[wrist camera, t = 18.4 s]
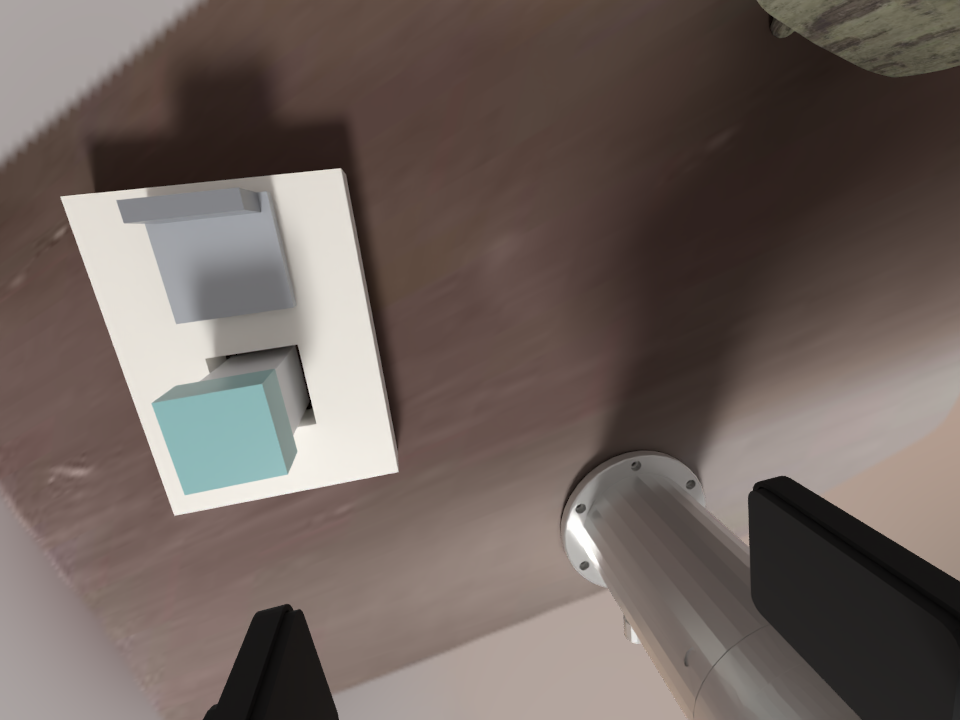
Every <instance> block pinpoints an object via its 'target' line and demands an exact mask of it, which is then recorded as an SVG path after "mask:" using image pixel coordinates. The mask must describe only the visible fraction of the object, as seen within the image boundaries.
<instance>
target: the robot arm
mask: <svg viewBox="0 0 960 720" xmlns="http://www.w3.org/2000/svg"><path fill="white" fill-rule="evenodd" d="M748 509H749V545H750V547H748V546H747V545H746V544H745V543H744V542H743V541H742V540H741V539H739V538H738V537H737V536H736V535H735V534H734V533H733V532H732V531H730V530H729V529H728V528H727V527H726V526H725V525H724V524H723V523H721V522H720V521H719V520H718V519H717V518H716V517H715V516H714V515H712V514H711V513H710V512H709V511H708V510H707V509H706V500H705V494H704V491H703V488H702V485H701V483H700V482H699V480H698V478H697V476H696V475H695V474H694V473H693V472H692V471H691V470H690V469H689V468H688V467H687V466H686V465H684V464H683V463H682V462H680V461H679V460H678V459H676V458H674V457H672V456H670V455H668V454H665V453H661V452H656V451H635V452H629V453H625V454H622V455H619V456H616V457H613V458H611V459H609V460H608V461H606V462H604V463H602V464H600V465H599V466H598V467H596V468H595V469H594V470H592V471H591V472H590V473H588V474H587V475H586V476H585V478H584V479H583V480H582V481H581V482H580V483H579V484H578V485H577V487H576V488H575V490H574V491H573V493H572V494H571V496H570V497H569V500H568V502H567V504H566V506H565V509H564V512H563V516H562V521H561V539H562V544H563V548H564V550H565V553H566V555H567V557H568V559H569V560H570V562H571V564H572V565H573V567H574V569H575V570H576V571H577V572H578V573H579V574H580V575H581V576H582V577H584V578H585V579H587V580H588V581H590V582H592V583H594V584H597V585H599V586H602V587H607V588H608V589H609V591H610V592H611V594H612V596H613V597H614V599H615V601H616V602H617V604H618V605H619V607H620V609H621V611H622V612H623V614H624V635H625V637H626V638H627V639H628V640H629V641H631V642H633V643H637V644H639V643H641V644H642V645H643V647H644V649H645V650H646V652H647V653H648V655H649V656H650V658H651V660H652V662H653V663H654V665H655V667H656V668H657V670H658V672H659V673H660V675H661V677H662V678H663V680H664V682H665V683H666V685H667V687H668V688H669V690H670V692H671V693H672V695H673V696H674V698H675V700H676V701H677V703H678V705H679V706H680V708H681V710H682V711H683V713H684V715H685V716H686V718H687V720H960V581H958V580H956V579H955V578H953V577H951V576H950V575H948V574H947V573H945V572H943V571H942V570H940V569H938V568H937V567H935V566H933V565H932V564H930V563H929V562H927V561H925V560H924V559H922V558H920V557H919V556H917V555H915V554H914V553H912V552H910V551H909V550H907V549H906V548H904V547H902V546H901V545H899V544H897V543H896V542H894V541H892V540H891V539H889V538H887V537H886V536H884V535H882V534H881V533H879V532H878V531H876V530H874V529H873V528H871V527H869V526H868V525H866V524H864V523H863V522H861V521H860V520H858V519H856V518H855V517H853V516H851V515H849V514H848V513H846V512H845V511H843V510H842V509H840V508H838V507H837V506H835V505H833V504H832V503H830V502H828V501H827V500H825V499H823V498H822V497H820V496H819V495H817V494H815V493H814V492H812V491H810V490H809V489H807V488H805V487H804V486H802V485H800V484H799V483H797V482H796V481H794V480H792V479H791V478H788V477H786V476H779V477H775V478H771V479H767V480H764V481H760V482H757V483H755V485H754V487H753V491H751V492H750V493H749V496H748ZM203 720H339V718H338V713H337V710H336V707H335V704H334V701H333V698H332V695H331V692H330V689H329V686H328V684H327V681H326V678H325V675H324V672H323V669H322V666H321V663H320V660H319V657H318V655H317V652H316V649H315V646H314V643H313V640H312V637H311V634H310V631H309V628H308V625H307V623H306V620H305V617H304V614H303V612H302V611H301V610H300V609H298V610H295V611H293V608H292V607H291V606H290V605H289V604H285V605H281V606H277V607H274V608H270V609H266V610H262V611H258V612H257V613H256V614H255V615H254V617H253V619H252V622H251V624H250V626H249V629H248V631H247V634H246V636H245V639H244V641H243V644H242V646H241V648H240V651H239V653H238V656H237V658H236V661H235V663H234V665H233V668H232V670H231V673H230V675H229V678H228V680H227V683H226V685H225V687H224V690H223V692H222V695H221V697H220V700H219V702H218V704H216V705H213V706H212V707H211V708H210V709H209V710H208V711H207V713H206V715H205V717H204V719H203Z"/></svg>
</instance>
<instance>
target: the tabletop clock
mask: <svg viewBox="0 0 960 720" xmlns="http://www.w3.org/2000/svg"><path fill="white" fill-rule="evenodd" d="M757 1H758V3H759V4H760V6H761V7H762V8H763V9H764V10H765V11H766V12H767V13H769V14H770V15H771V16H773V17H774V19H773V21H772V24H771V32H772V34H773V35H774V36H776V37H777V38H785V37H787V36H789V35H790V34H792V33H793V32H794V31H796V32H797V33H799V34H800V35H802V36H803V37H805V38H807V39H808V40H810V41H811V42H813V43H814V44H816V45H818V46H820V47H822V48H824V49H826V50H828V51H830V52H832V53H833V54H835V55H837V56H839V57H841V58H843V59H845V60H847V61H849V62H851V63H853V64H855V65H857V66H859V67H861V68H863V69H865V70H868V71H871V72H874V73H876V74H881V75H885V76H889V77H902V76H912V75H919V74H924V73H930V72H935V71H939V70H944V69H948V68H952V67H956V66H960V0H757Z"/></svg>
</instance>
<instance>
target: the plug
mask: <svg viewBox="0 0 960 720" xmlns="http://www.w3.org/2000/svg"><path fill="white" fill-rule="evenodd" d="M309 402H310V401H309V397H308V393H307V389H306V385H305V381H304V377H303V373H302V370H301V366H300V362H299V358H298V354H297V350H296V346H289V347H283V348H277V349H271V350H265V351H259V352H253V353H247V354H241V355H235V356H231V357H230V358H229V359H227V360H226V361H225V362H223V363H222V364H221V365H220V366H218V367H217V368H216V369H215V370H213V371H212V372H211V373H210V374H208V375H207V376H206V377H204V378H203V379H202V380H201V381H199V382H194V383H188V384H182V385H177V386H175V387H173V388H172V389H170V390H169V391H168V392H166V393H165V394H163V395H162V396H161V397H159V398H158V399H157V400H155V401H154V402H152V403H151V404H152V407H153V409H154V412H155V415H156V418H157V420H158V423H159V426H160V429H161V431H162V434H163V437H164V440H165V442H166V445H167V448H168V451H169V453H170V456H171V459H172V462H173V464H174V467H175V470H176V473H177V475H178V478H179V481H180V484H181V486H182V489H183V492H184V495H189V494H194V493H199V492H204V491H209V490H214V489H219V488H224V487H229V486H233V485H238V484H243V483H248V482H253V481H258V480H263V479H268V478H273V477H278V476H283V475H288V473H289V471H290V468H291V466H292V464H293V461H294V459H295V456H296V454H297V452H298V451H297V448H296V444H295V440H294V437H293V435H294V433H295V431H296V429H297V427H298V425H299V423H300V421H301V418H302V416H303V414H304V412H305V410H306V408H307V406H308V404H309Z"/></svg>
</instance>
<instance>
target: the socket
mask: <svg viewBox="0 0 960 720" xmlns="http://www.w3.org/2000/svg"><path fill="white" fill-rule="evenodd" d="M238 187H239V188H243V189H246V190H250V191H253V192H265V191H267V192H270V193H271V198H272V202H273V206H274V210H275V215H276V219H277V223H278V228H279V232H280V236H281V240H282V245H283V249H284V253H285V258H286V262H287V266H288V270H289V275H290V279H291V283H292V288H293V292H294V296H295V300H296V305H297V306H295V307H294V308H287V309H280V310H273V311H266V312H259V313H252V314H245V315H238V316H231V317H224V318H217V319H210V320H202V321H195V322H188V323H181V324H176V322H175V319H174V316H173V313H172V309H171V306H170V303H169V300H168V297H167V293H166V290H165V287H164V284H163V281H162V278H161V274H160V271H159V268H158V265H157V262H156V258H155V255H154V252H153V249H152V246H151V242H150V239H149V236H148V233H147V230H146V226H145V224H127V223H123V219H122V216H121V213H120V210H119V207H118V204H117V201H116V200H123V199H132V198H142V197H152V196H161V195H171V194H180V193H190V192H200V191H209V190H219V189H228V188H238ZM61 200H62V203H63V205H64V208H65V211H66V214H67V217H68V219H69V222H70V225H71V228H72V231H73V233H74V236H75V239H76V242H77V245H78V247H79V250H80V253H81V256H82V259H83V261H84V264H85V267H86V270H87V272H88V275H89V278H90V281H91V284H92V286H93V289H94V292H95V295H96V298H97V300H98V303H99V306H100V309H101V312H102V314H103V317H104V320H105V323H106V326H107V328H108V331H109V334H110V337H111V340H112V342H113V345H114V348H115V351H116V353H117V356H118V359H119V362H120V365H121V367H122V370H123V373H124V376H125V379H126V381H127V384H128V387H129V390H130V393H131V395H132V398H133V401H134V404H135V407H136V409H137V412H138V415H139V418H140V421H141V423H142V426H143V429H144V432H145V434H146V437H147V440H148V443H149V446H150V448H151V451H152V454H153V457H154V460H155V462H156V465H157V468H158V471H159V474H160V476H161V479H162V482H163V485H164V488H165V490H166V493H167V496H168V499H169V502H170V504H171V507H172V510H173V513H174V515H175V516H176V515H181V514H186V513H191V512H196V511H201V510H206V509H211V508H217V507H222V506H227V505H232V504H237V503H242V502H247V501H252V500H258V499H263V498H268V497H273V496H278V495H283V494H288V493H293V492H298V491H304V490H309V489H314V488H319V487H324V486H329V485H334V484H339V483H344V482H350V481H355V480H360V479H365V478H370V477H375V476H380V475H385V474H390V473H396V472H398V450H397V445H396V440H395V434H394V429H393V423H392V418H391V413H390V407H389V402H388V397H387V391H386V386H385V381H384V375H383V370H382V365H381V359H380V354H379V348H378V343H377V338H376V332H375V327H374V322H373V316H372V311H371V306H370V300H369V295H368V290H367V284H366V279H365V274H364V268H363V263H362V257H361V252H360V247H359V241H358V236H357V231H356V225H355V220H354V215H353V209H352V204H351V199H350V193H349V188H348V182H347V177H346V174H345V173H344V171H343V170H342V169H341V168H338V169H328V170H319V171H309V172H299V173H289V174H279V175H269V176H260V177H250V178H240V179H230V180H220V181H210V182H200V183H191V184H181V185H171V186H161V187H151V188H141V189H132V190H122V191H112V192H102V193H92V194H82V195H73V196H63V197H61ZM291 345H298V348H299V352H300V357H301V361H302V365H303V369H304V373H305V378H306V382H307V386H308V390H309V394H310V399H311V403H312V407H313V409H307V410H305V412H304V414H303V416H302V418H301V421H300V423H299V425H298V427H297V429H296V431H295V433H294V435H293V437H294V440H295V444H296V448H297V451H298V452H297V454H296V456H295V459H294V461H293V464H292V466H291V468H290V471H289V473H288V475H283V476H278V477H273V478H268V479H263V480H258V481H253V482H248V483H243V484H238V485H233V486H229V487H224V488H219V489H214V490H209V491H204V492H199V493H194V494H189V495H184V492H183V489H182V486H181V484H180V481H179V478H178V475H177V473H176V470H175V467H174V464H173V462H172V459H171V456H170V453H169V451H168V448H167V445H166V442H165V440H164V437H163V434H162V431H161V429H160V426H159V423H158V420H157V418H156V415H155V412H154V409H153V407H152V404H151V403H152V402H154V401H155V400H157V399H158V398H159V397H161V396H162V395H163V394H165V393H166V392H168V391H169V390H170V389H172V388H173V387H175V386H177V385H182V384H188V383H194V382H199V381H201V380H202V379H203V378H204V377H206V376H207V375H208V374H210V373H211V372H212V371H213V370H215V369H216V368H217V367H218V366H220V365H221V364H222V363H223V362H225V361H226V360H227V359H226V355H232V354H239V353H245V352H252V351H259V350H265V349H272V348H278V347H285V346H291Z"/></svg>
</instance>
